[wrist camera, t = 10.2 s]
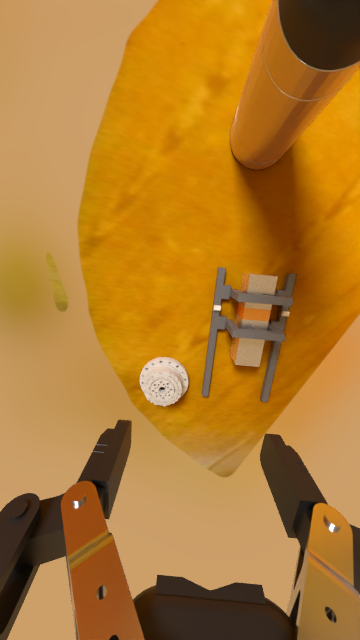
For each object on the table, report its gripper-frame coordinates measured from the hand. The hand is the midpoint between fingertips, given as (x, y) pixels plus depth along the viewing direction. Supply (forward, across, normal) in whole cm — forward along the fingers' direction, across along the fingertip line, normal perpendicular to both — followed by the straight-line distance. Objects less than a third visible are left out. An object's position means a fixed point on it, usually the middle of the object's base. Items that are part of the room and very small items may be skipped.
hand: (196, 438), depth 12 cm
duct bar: (+28, -11, -1) cm, 30 cm away
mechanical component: (+29, +4, +13) cm, 32 cm away
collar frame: (+28, -11, +3) cm, 30 cm away
